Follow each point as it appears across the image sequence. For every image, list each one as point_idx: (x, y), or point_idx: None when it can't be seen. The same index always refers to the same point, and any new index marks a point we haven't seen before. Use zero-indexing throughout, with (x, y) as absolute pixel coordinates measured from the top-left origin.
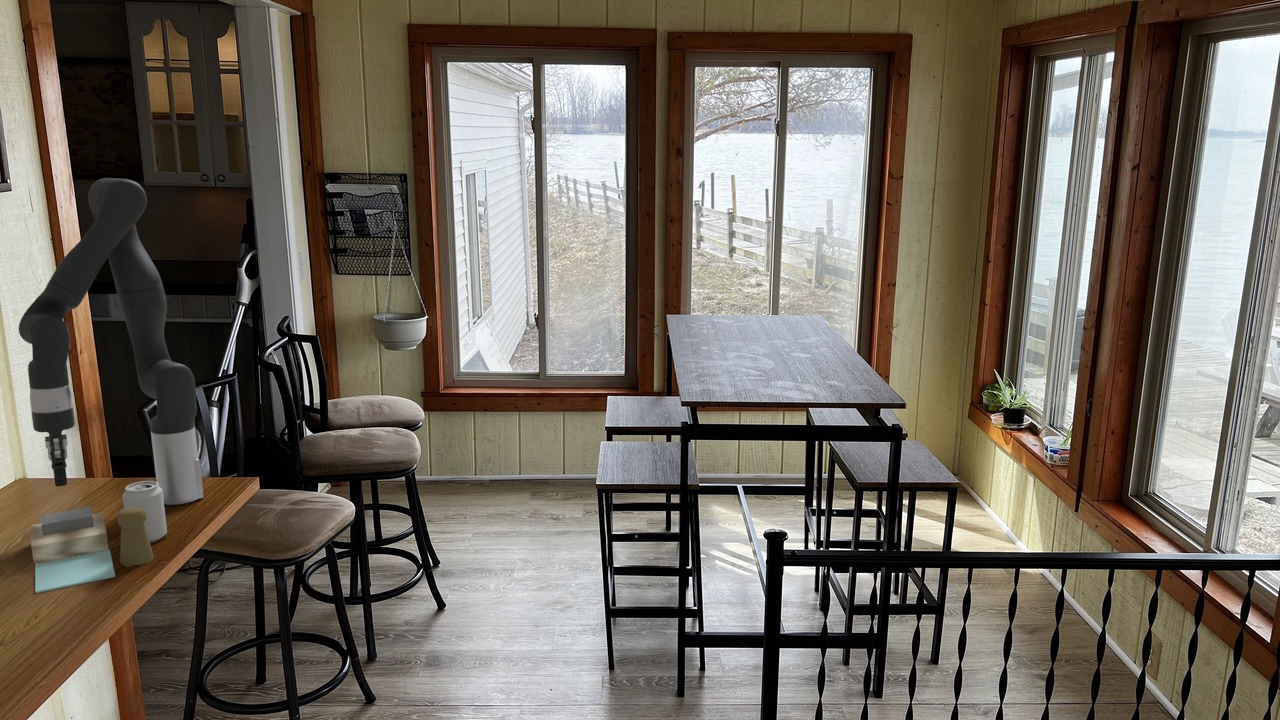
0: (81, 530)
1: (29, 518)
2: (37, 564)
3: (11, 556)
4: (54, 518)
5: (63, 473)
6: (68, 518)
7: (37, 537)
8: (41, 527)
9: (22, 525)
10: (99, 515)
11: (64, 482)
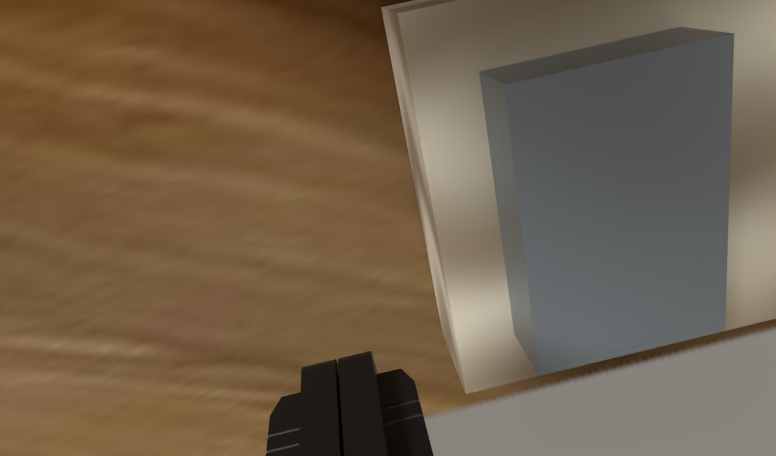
0: None
1: (54, 441)
2: None
3: (574, 376)
4: (643, 284)
5: (430, 450)
6: (695, 196)
7: None
8: None
9: (160, 442)
10: (455, 24)
11: (406, 379)
